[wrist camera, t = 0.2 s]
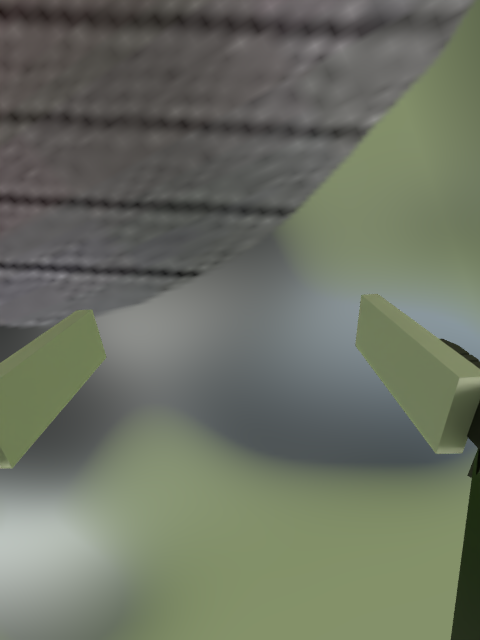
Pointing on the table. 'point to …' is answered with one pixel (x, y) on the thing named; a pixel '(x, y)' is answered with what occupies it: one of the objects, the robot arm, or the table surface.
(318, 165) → the table surface
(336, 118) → the table surface
